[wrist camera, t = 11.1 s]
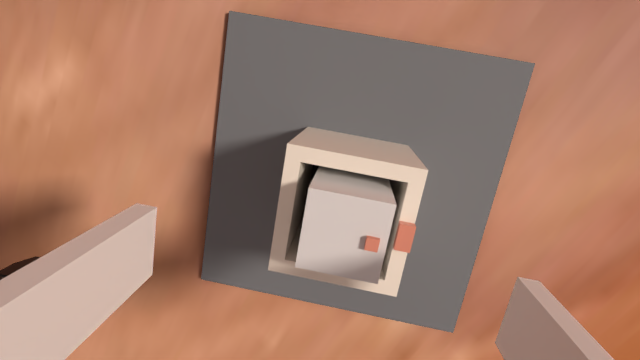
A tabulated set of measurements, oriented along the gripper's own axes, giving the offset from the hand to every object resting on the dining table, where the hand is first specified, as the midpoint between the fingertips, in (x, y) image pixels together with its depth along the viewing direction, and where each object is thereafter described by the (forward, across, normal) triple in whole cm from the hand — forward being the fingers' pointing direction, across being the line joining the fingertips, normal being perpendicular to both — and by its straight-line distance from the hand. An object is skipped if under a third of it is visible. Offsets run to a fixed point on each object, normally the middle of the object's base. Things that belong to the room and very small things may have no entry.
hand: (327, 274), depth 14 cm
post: (+14, +1, 0) cm, 14 cm away
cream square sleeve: (+14, +1, 0) cm, 14 cm away
